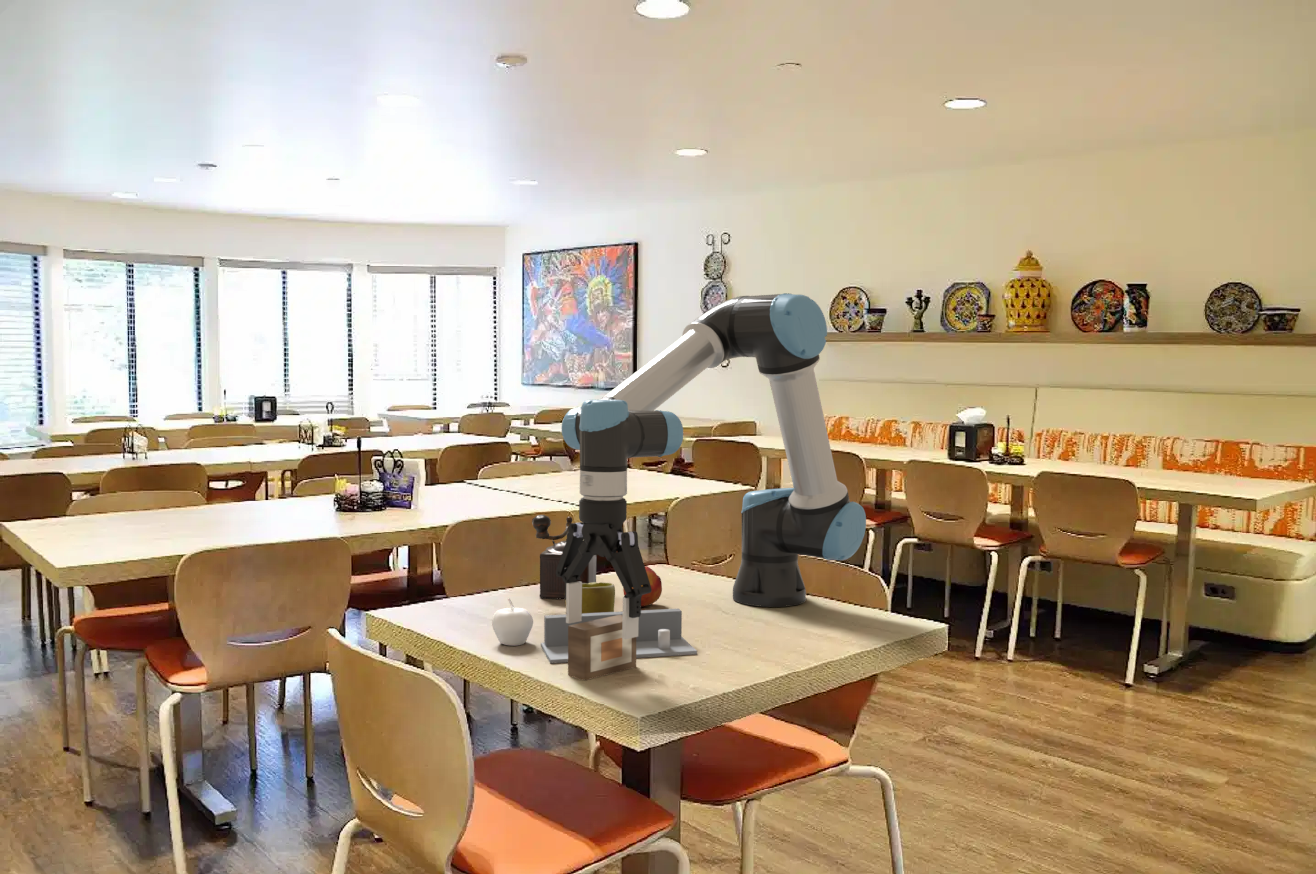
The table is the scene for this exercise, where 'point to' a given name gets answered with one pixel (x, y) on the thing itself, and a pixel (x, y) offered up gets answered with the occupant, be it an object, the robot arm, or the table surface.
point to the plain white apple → (512, 625)
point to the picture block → (599, 648)
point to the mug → (597, 597)
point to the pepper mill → (556, 561)
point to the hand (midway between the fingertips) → (601, 629)
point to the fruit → (655, 586)
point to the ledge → (639, 650)
